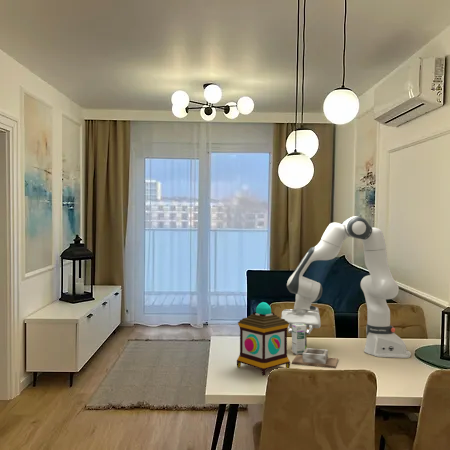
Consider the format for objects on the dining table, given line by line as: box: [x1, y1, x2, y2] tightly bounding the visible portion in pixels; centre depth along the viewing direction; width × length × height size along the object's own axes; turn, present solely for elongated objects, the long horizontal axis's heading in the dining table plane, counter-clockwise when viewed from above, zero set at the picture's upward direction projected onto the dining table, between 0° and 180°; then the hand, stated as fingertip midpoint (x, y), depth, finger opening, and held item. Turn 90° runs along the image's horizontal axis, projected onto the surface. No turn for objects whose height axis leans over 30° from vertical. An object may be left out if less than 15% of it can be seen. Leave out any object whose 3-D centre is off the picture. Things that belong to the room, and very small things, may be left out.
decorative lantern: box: [236, 301, 291, 377], centre depth 217 cm, size 20×20×30 cm
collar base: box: [291, 347, 339, 369], centre depth 227 cm, size 20×13×5 cm, turn 71°
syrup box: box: [291, 324, 308, 356], centre depth 241 cm, size 6×6×14 cm
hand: (298, 333), depth 241 cm, fingers closed on syrup box, 8 cm apart
